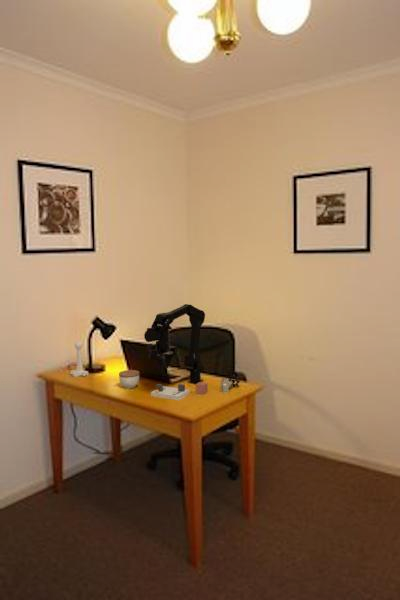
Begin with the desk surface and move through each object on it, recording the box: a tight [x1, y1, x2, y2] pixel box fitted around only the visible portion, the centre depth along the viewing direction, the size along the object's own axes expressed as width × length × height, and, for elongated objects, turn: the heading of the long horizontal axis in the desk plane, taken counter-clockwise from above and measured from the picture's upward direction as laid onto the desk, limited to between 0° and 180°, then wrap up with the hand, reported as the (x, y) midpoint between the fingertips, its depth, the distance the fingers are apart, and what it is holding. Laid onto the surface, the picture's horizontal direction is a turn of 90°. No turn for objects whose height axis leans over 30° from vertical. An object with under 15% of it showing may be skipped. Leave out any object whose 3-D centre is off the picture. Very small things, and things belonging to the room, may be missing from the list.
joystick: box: [69, 340, 89, 378], centre depth 271 cm, size 11×8×20 cm
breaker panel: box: [150, 385, 191, 401], centre depth 233 cm, size 11×16×3 cm
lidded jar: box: [118, 369, 140, 390], centre depth 247 cm, size 11×11×9 cm
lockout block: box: [195, 381, 209, 396], centre depth 235 cm, size 4×4×5 cm
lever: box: [177, 383, 186, 391], centre depth 232 cm, size 2×3×3 cm, turn 63°
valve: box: [220, 374, 241, 394], centre depth 239 cm, size 7×7×12 cm
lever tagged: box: [155, 383, 164, 391], centre depth 233 cm, size 2×3×3 cm, turn 63°
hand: (164, 369), depth 236 cm, fingers open, 5 cm apart
